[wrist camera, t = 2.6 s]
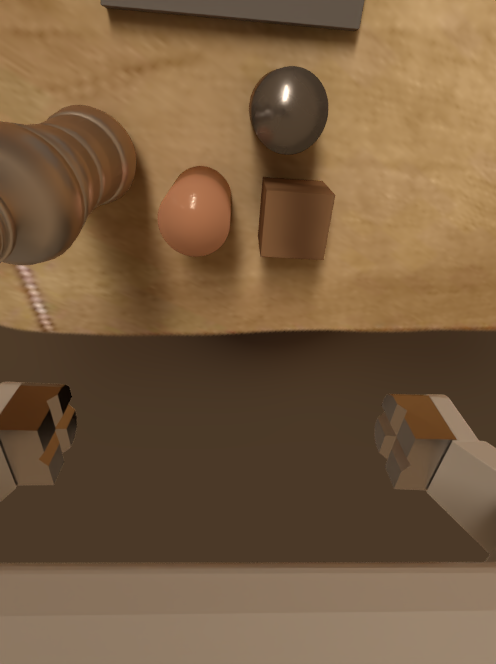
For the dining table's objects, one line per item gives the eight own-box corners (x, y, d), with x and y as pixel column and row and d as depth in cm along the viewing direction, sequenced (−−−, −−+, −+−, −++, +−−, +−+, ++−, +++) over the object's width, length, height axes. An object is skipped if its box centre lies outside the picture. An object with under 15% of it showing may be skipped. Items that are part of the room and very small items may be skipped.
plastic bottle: (100, 83, 28) (-102, 79, 12) (160, 167, 32) (69, 261, 15) (39, 136, 30) (-215, 200, 13) (101, 210, 33) (-40, 339, 16)
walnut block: (257, 235, 35) (260, 256, 31) (262, 176, 32) (266, 190, 28) (313, 239, 35) (323, 259, 31) (322, 180, 32) (335, 195, 28)
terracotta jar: (173, 225, 34) (159, 254, 28) (171, 163, 31) (155, 182, 26) (230, 228, 34) (228, 258, 28) (233, 168, 32) (231, 187, 26)
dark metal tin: (246, 141, 31) (248, 151, 26) (252, 65, 28) (255, 62, 24) (309, 147, 31) (320, 157, 27) (320, 72, 28) (335, 70, 24)
